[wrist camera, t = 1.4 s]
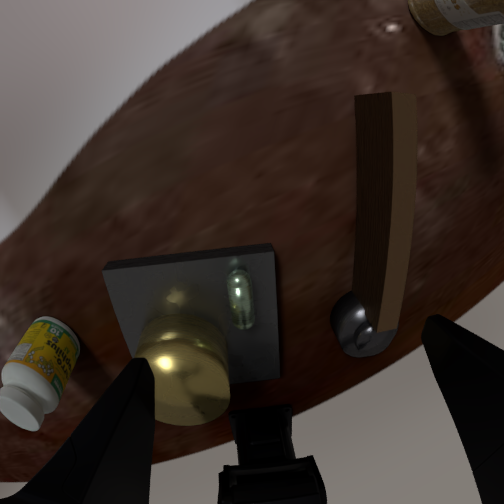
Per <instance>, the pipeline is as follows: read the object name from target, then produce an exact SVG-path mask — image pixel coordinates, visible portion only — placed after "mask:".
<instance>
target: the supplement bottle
mask: <svg viewBox="0 0 504 504" xmlns="http://www.w3.org/2000/svg"><path fill="white" fill-rule="evenodd" d="M79 353H80V344H79V341H78V339H77V337H76V335H75V334H74V332H73V331H72V330H71V329H70V328H69V327H68V326H67V325H65V324H64V323H62V322H61V321H59V320H57V319H55V318H52V317H40V318H38V319H36V320H35V321H34V322H33V323H32V325H31V326H30V327H29V329H28V330H27V332H26V333H25V335H24V336H23V338H22V339H21V341H20V342H19V344H18V345H17V347H16V348H15V350H14V352H13V353H12V355H11V356H10V358H9V359H8V361H7V363H6V364H5V366H4V368H3V370H2V382H3V385H4V386H3V387H2V388H1V389H0V411H1V412H2V413H3V415H4V416H6V417H7V418H8V419H9V420H10V421H11V422H13V423H14V424H16V425H18V426H19V427H21V428H24V429H26V430H30V431H37V430H38V429H39V428H40V426H41V424H42V422H43V420H44V414H47V413H50V412H52V411H54V410H55V409H56V407H57V406H58V403H59V401H60V398H61V396H62V394H63V391H64V389H65V387H66V384H67V382H68V379H69V377H70V375H71V372H72V370H73V368H74V366H75V363H76V361H77V359H78V356H79Z"/></svg>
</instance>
